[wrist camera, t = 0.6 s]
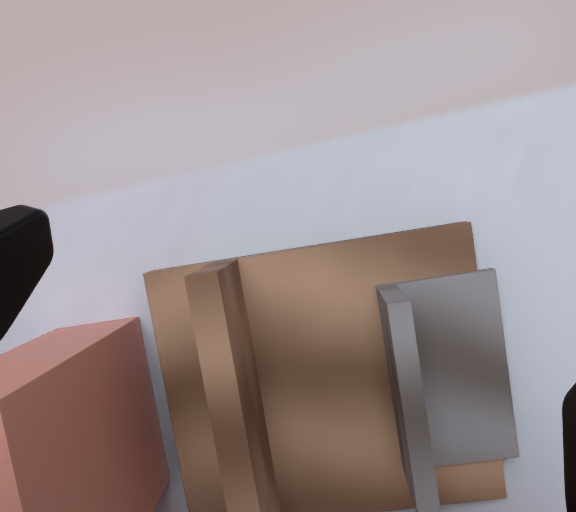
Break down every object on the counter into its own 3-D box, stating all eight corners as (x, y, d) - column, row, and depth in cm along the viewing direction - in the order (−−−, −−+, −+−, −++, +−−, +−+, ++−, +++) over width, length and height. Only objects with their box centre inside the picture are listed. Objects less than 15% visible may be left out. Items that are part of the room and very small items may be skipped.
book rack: (512, 483, 23) (565, 562, 18) (197, 518, 24) (164, 600, 19) (478, 219, 21) (524, 224, 16) (151, 270, 23) (102, 289, 18)
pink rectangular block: (170, 480, 24) (59, 677, 14) (90, 489, 24) (-74, 688, 14) (138, 316, 23) (-3, 400, 13) (56, 328, 23) (-140, 419, 14)
